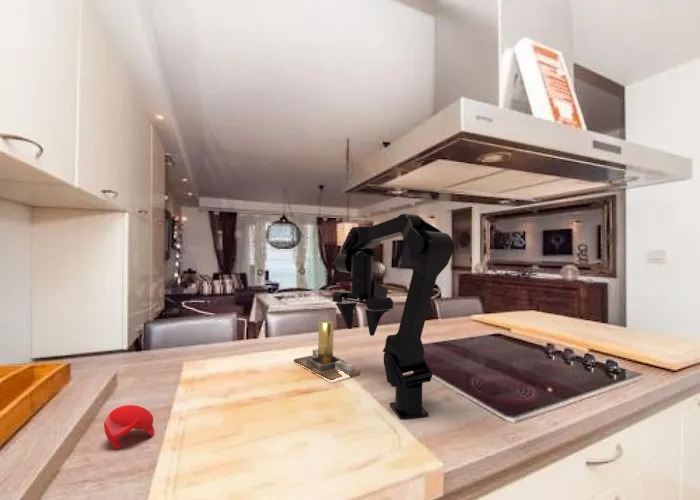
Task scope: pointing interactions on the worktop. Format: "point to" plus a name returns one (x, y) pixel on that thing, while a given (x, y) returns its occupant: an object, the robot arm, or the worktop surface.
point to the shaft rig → (327, 366)
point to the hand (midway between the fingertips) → (360, 332)
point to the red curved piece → (127, 422)
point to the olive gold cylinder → (325, 342)
